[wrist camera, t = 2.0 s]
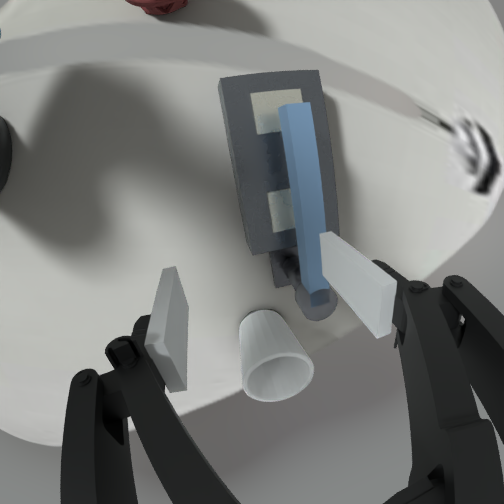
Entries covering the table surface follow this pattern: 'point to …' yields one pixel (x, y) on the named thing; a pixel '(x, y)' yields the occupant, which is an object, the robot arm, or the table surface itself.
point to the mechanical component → (159, 5)
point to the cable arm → (306, 208)
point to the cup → (272, 358)
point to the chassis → (272, 152)
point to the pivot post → (286, 267)
